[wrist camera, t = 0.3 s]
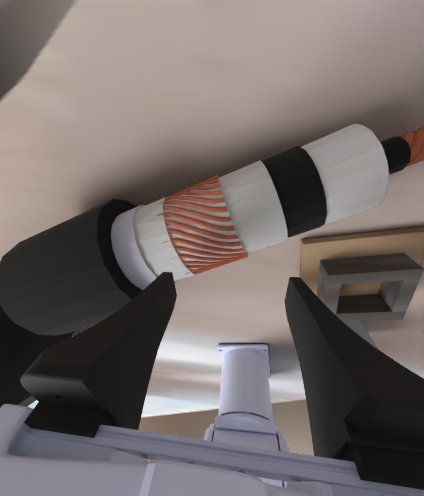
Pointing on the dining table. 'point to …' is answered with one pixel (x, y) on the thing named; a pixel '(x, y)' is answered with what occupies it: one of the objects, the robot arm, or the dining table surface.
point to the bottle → (19, 358)
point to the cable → (194, 228)
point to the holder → (364, 272)
